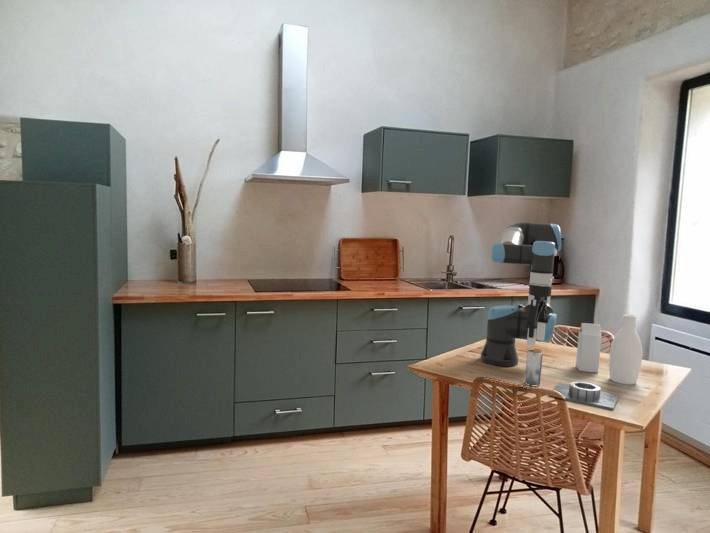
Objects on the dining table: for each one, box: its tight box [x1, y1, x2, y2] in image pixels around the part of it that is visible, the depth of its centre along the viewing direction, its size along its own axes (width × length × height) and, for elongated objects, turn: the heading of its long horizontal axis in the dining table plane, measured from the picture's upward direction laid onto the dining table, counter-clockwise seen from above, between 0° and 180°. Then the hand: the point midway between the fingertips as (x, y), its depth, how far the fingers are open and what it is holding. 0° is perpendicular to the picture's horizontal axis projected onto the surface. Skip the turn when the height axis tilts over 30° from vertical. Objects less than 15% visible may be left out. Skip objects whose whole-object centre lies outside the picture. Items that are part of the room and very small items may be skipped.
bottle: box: [608, 313, 643, 386], centre depth 202 cm, size 11×11×25 cm
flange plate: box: [552, 380, 620, 411], centre depth 183 cm, size 20×16×4 cm
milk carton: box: [575, 322, 602, 374], centre depth 216 cm, size 7×7×19 cm
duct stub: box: [524, 348, 543, 387], centre depth 193 cm, size 5×5×13 cm
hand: (535, 343), depth 192 cm, fingers open, 13 cm apart
